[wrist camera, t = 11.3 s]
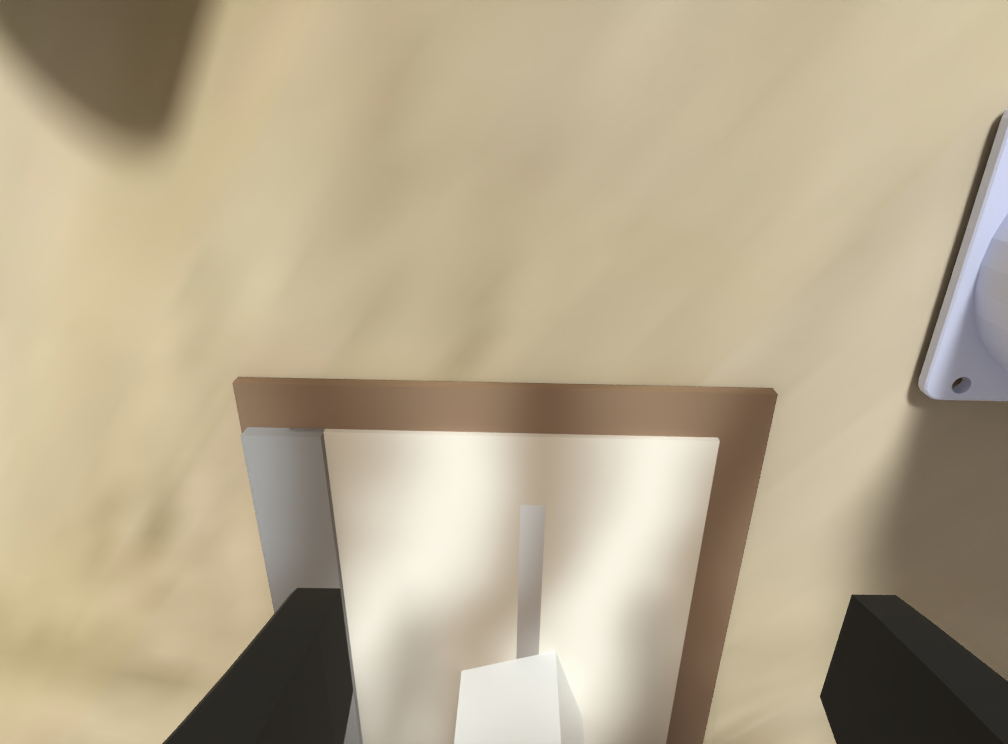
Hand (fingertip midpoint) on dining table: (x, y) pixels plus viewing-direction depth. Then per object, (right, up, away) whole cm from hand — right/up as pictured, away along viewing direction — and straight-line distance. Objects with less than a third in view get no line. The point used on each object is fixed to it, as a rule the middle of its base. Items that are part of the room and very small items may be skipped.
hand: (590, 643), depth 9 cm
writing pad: (-1, -5, +14) cm, 14 cm away
